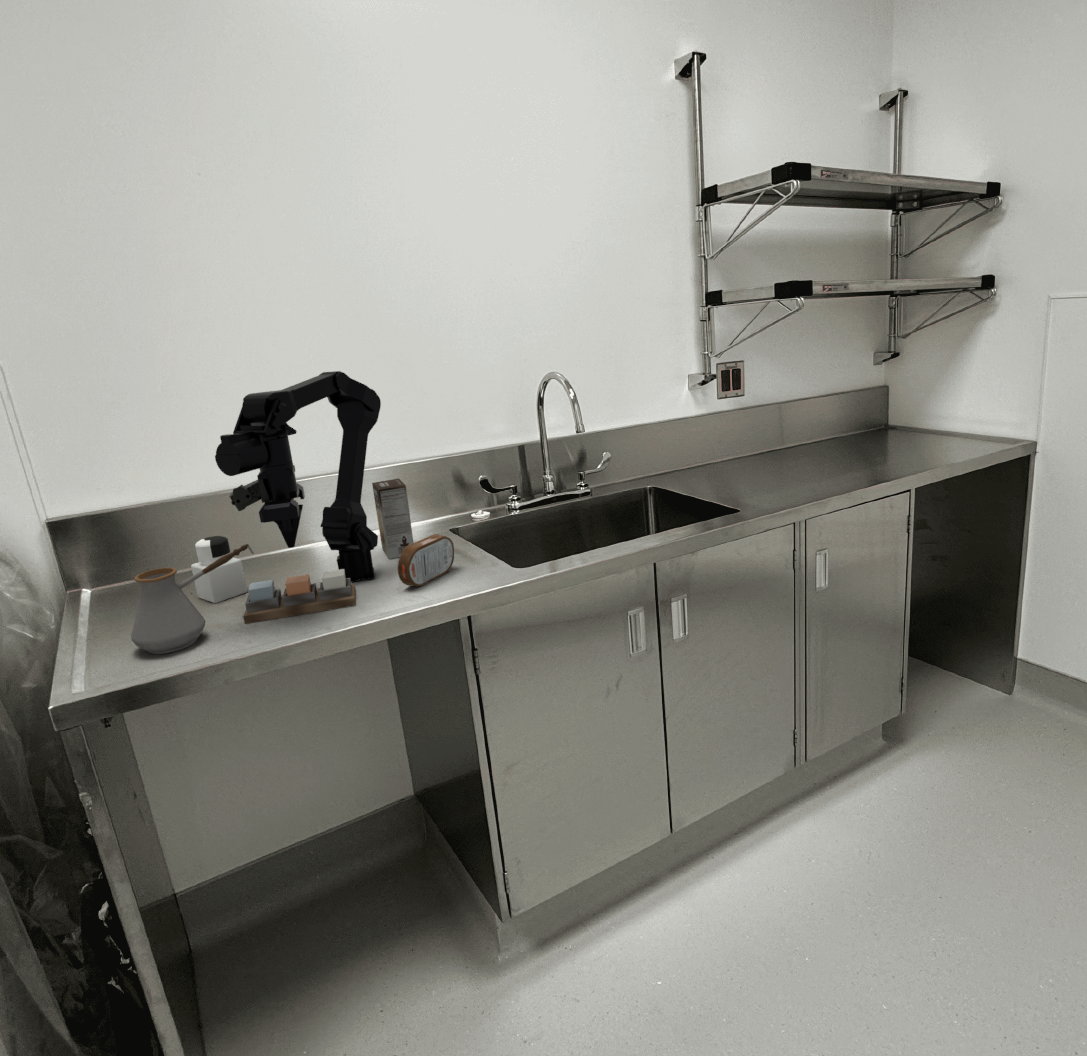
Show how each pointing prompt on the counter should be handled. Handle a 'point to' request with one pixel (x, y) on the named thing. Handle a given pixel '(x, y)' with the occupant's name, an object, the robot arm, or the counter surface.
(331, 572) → the white button
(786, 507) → the counter surface
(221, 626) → the counter surface
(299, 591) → the terracotta button
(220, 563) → the coffee pot
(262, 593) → the slate button
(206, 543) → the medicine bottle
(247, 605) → the button panel
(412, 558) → the tin
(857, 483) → the counter surface
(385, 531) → the coffee box
